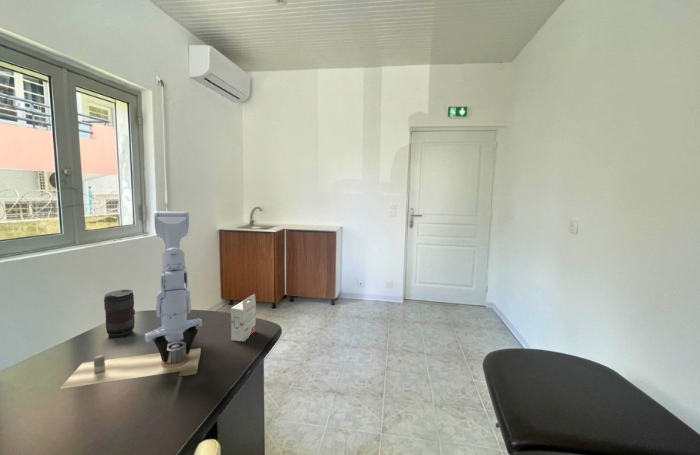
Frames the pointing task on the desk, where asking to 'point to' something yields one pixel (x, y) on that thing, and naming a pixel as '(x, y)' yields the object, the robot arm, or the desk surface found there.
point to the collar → (176, 353)
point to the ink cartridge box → (243, 319)
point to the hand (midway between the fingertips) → (175, 356)
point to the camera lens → (119, 313)
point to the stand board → (130, 368)
